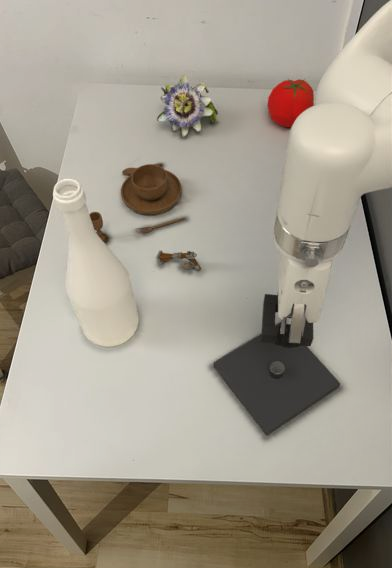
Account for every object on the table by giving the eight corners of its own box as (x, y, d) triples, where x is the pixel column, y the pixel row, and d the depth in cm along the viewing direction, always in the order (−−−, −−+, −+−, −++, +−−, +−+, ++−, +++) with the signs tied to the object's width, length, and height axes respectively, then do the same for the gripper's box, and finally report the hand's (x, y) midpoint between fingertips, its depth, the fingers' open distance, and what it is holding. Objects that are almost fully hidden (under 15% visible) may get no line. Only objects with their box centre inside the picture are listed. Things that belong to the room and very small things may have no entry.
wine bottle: (77, 311, 86) (18, 172, 60) (130, 295, 87) (95, 151, 61) (91, 356, 81) (34, 227, 55) (146, 338, 83) (117, 203, 57)
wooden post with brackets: (203, 273, 88) (192, 255, 85) (166, 273, 92) (155, 256, 89) (206, 265, 89) (196, 247, 86) (170, 266, 93) (159, 249, 90)
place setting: (196, 217, 96) (195, 194, 91) (96, 249, 93) (89, 226, 88) (165, 160, 104) (163, 136, 99) (72, 187, 101) (65, 163, 96)
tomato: (257, 123, 109) (261, 87, 102) (284, 100, 113) (290, 63, 106) (293, 140, 106) (299, 104, 99) (319, 116, 110) (327, 79, 103)
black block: (311, 306, 69) (313, 297, 68) (310, 346, 66) (313, 339, 64) (263, 302, 70) (264, 293, 68) (260, 342, 67) (262, 334, 65)
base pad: (282, 324, 83) (284, 314, 81) (338, 387, 78) (343, 378, 75) (213, 366, 80) (213, 356, 77) (266, 435, 74) (268, 428, 71)
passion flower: (186, 155, 113) (152, 125, 103) (180, 117, 116) (147, 85, 107) (228, 130, 107) (196, 96, 97) (221, 90, 110) (189, 54, 101)
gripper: (350, 298, 47) (315, 381, 63) (345, 172, 56) (315, 272, 71) (271, 291, 48) (255, 375, 63) (278, 168, 56) (263, 268, 72)
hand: (287, 320), depth 67 cm, fingers closed on black block, 6 cm apart
